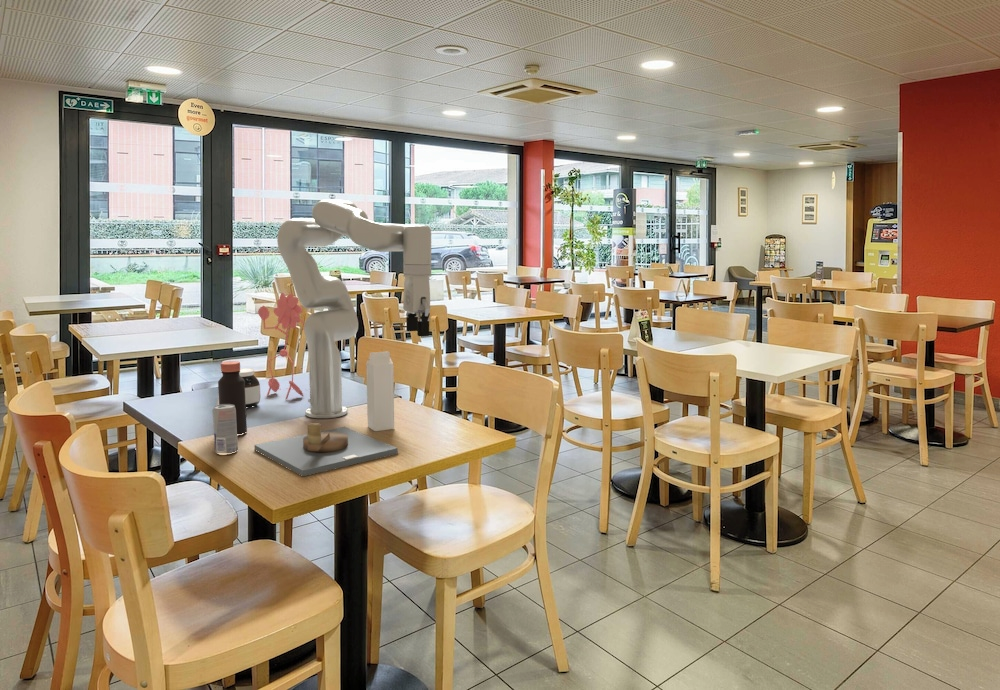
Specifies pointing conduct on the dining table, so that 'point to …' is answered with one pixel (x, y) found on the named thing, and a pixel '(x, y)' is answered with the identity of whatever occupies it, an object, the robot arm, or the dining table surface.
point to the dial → (323, 440)
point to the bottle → (233, 392)
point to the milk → (380, 391)
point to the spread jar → (250, 387)
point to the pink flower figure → (286, 315)
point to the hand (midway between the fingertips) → (417, 333)
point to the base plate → (313, 462)
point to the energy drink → (225, 428)
